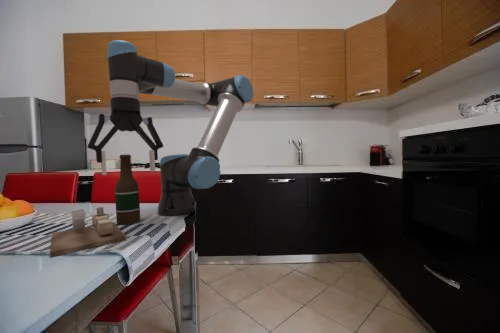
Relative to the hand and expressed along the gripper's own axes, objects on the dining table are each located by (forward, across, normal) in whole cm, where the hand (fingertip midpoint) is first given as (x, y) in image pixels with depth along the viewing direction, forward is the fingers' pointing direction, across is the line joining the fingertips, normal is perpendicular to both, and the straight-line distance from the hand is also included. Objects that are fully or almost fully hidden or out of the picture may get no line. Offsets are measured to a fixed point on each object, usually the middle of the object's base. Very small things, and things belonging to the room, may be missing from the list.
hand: (129, 172), depth 70 cm
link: (+16, +7, -6) cm, 19 cm away
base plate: (+18, +11, -5) cm, 22 cm away
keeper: (+17, +9, -11) cm, 22 cm away
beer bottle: (+19, -2, -16) cm, 25 cm away
